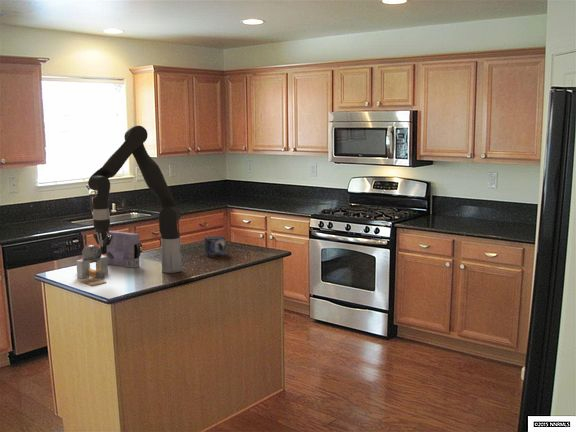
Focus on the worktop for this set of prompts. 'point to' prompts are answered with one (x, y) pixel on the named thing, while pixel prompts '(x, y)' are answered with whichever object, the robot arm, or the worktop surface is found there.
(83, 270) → the housing
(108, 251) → the cake pan box
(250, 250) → the worktop surface
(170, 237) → the robot arm
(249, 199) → the worktop surface
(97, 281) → the trivet
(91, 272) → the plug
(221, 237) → the small box
